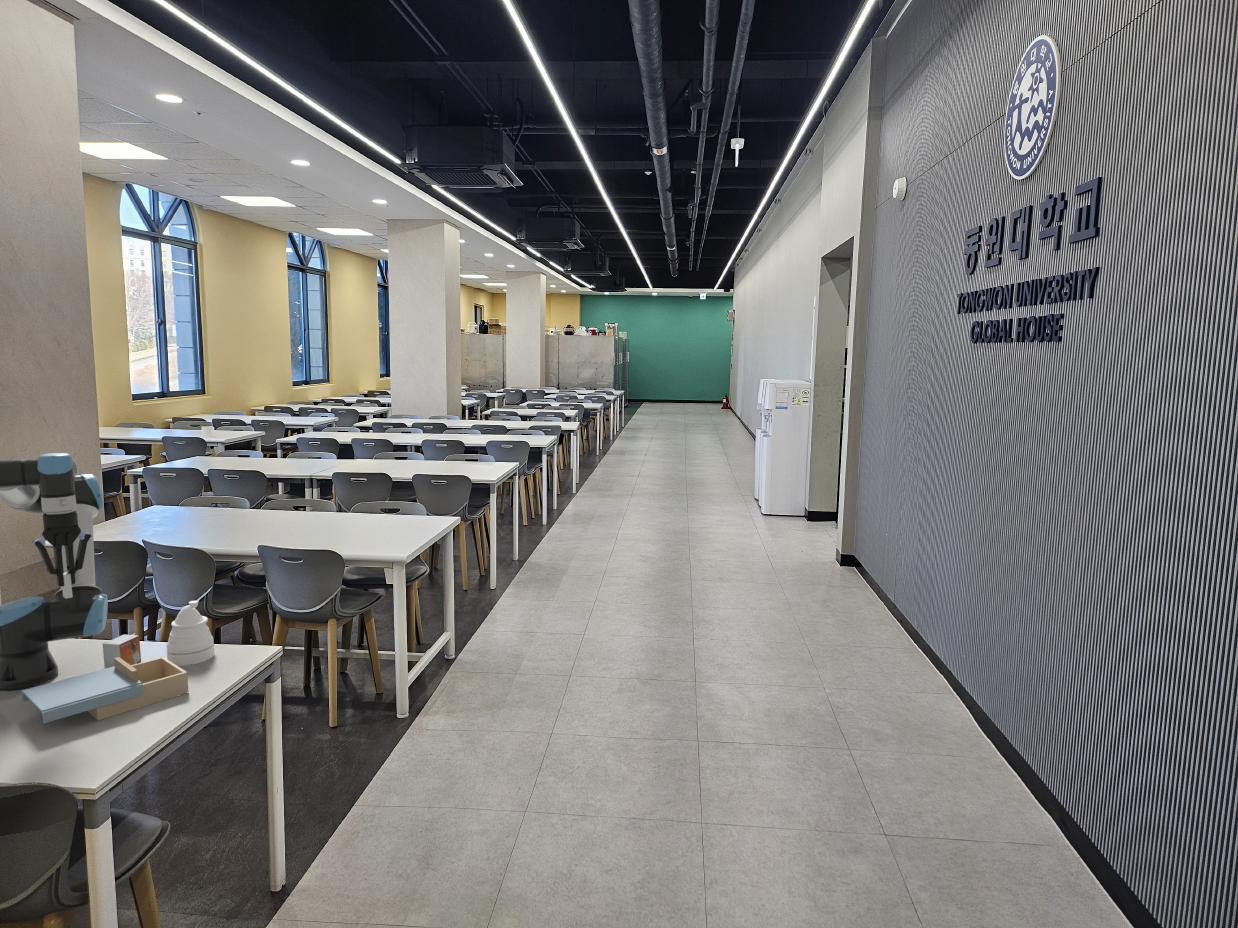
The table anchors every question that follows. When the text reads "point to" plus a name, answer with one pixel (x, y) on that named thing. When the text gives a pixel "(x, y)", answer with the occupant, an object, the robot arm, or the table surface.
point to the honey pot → (190, 637)
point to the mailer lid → (85, 691)
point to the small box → (122, 650)
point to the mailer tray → (149, 687)
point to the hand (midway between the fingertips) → (67, 596)
